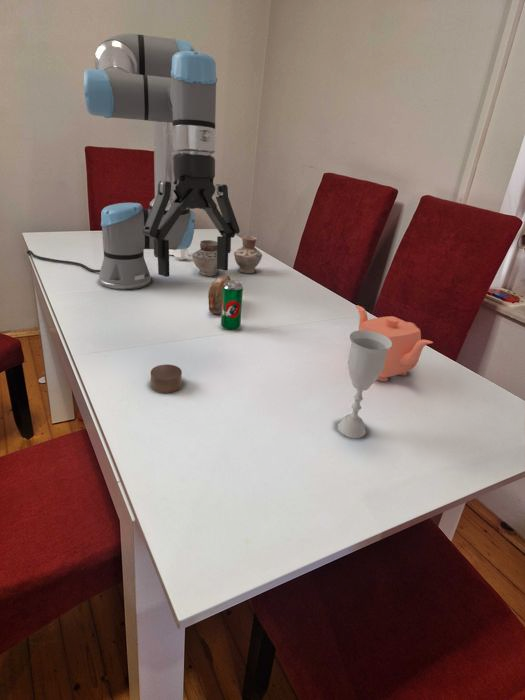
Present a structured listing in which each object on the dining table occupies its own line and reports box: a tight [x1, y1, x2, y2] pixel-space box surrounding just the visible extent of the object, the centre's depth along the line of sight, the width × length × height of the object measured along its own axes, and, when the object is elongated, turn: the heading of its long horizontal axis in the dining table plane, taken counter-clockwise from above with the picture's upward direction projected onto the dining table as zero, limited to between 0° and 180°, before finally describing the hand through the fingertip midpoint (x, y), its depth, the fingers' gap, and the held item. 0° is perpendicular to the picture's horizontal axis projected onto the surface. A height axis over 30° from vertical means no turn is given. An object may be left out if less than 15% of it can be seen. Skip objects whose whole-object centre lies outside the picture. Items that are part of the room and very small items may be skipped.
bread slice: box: [207, 275, 231, 315], centre depth 126 cm, size 15×3×8 cm, turn 168°
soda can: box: [220, 279, 244, 331], centre depth 115 cm, size 5×5×12 cm
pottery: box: [191, 235, 263, 277], centre depth 156 cm, size 11×25×12 cm, turn 116°
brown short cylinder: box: [149, 363, 183, 394], centre depth 89 cm, size 6×6×3 cm
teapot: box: [355, 305, 434, 382], centre depth 101 cm, size 15×17×13 cm
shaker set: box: [169, 248, 189, 261], centre depth 167 cm, size 12×4×11 cm, turn 31°
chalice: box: [337, 330, 392, 439], centre depth 78 cm, size 7×7×18 cm
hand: (194, 272), depth 88 cm, fingers open, 13 cm apart
